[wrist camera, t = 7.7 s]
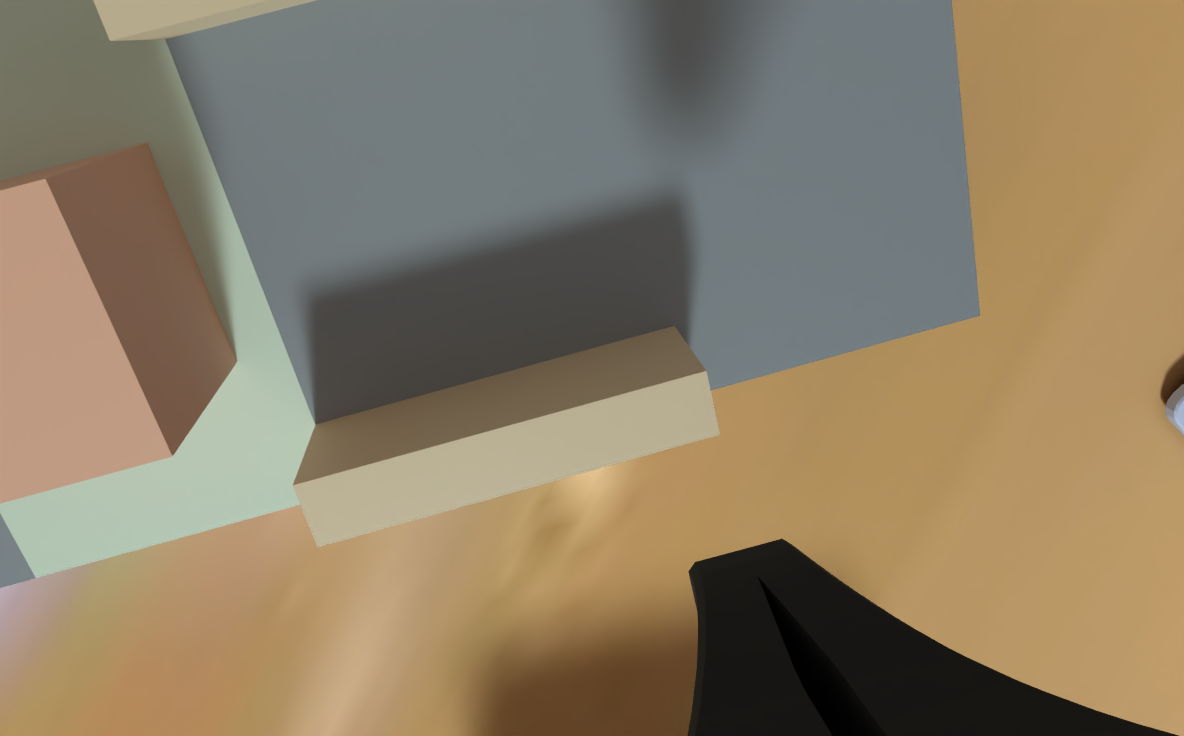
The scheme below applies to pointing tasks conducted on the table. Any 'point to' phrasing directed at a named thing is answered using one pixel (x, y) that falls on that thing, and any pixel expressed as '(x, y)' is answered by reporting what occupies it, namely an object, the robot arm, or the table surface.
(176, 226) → the terracotta block
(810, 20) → the deck
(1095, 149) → the table surface
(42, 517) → the pale green block
